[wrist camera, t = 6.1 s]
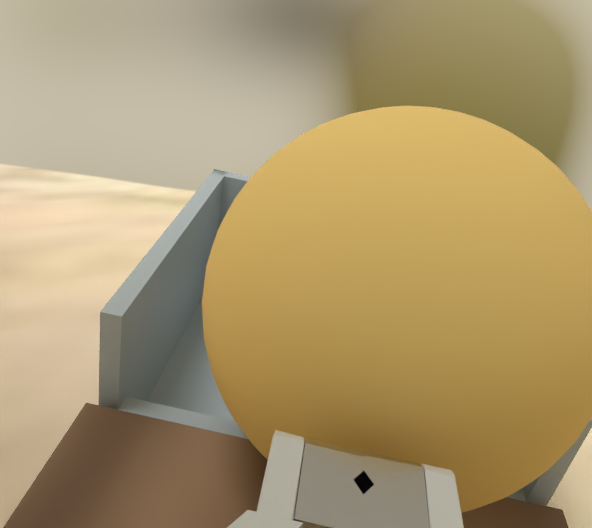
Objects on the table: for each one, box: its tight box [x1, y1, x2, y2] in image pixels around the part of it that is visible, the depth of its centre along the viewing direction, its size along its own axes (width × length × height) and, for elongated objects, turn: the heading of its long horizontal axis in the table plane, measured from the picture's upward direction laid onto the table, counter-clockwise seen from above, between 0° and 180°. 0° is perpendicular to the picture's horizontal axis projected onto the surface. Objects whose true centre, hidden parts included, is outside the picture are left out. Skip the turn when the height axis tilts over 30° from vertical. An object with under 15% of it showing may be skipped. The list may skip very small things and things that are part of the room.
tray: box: [99, 170, 592, 506], centre depth 22 cm, size 14×13×6 cm
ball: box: [202, 106, 592, 513], centre depth 15 cm, size 10×10×10 cm
